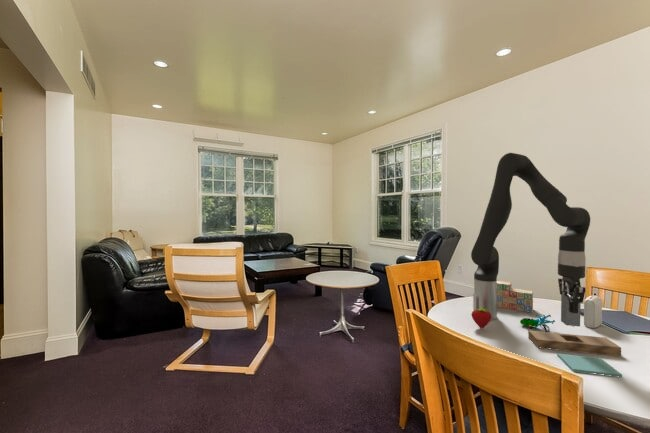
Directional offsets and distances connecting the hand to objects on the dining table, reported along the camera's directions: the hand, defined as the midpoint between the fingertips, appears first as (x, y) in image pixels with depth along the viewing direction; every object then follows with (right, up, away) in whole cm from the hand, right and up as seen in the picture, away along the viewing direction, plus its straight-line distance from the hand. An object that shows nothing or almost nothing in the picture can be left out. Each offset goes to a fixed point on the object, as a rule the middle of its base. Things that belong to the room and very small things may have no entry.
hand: (570, 310), depth 104 cm
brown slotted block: (0, -13, 0) cm, 13 cm away
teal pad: (-6, -13, -13) cm, 19 cm away
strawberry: (-23, -13, +17) cm, 31 cm away
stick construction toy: (0, -13, +16) cm, 21 cm away
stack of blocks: (+5, -13, +45) cm, 47 cm away
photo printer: (+26, -13, +19) cm, 35 cm away
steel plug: (0, -5, 0) cm, 5 cm away
